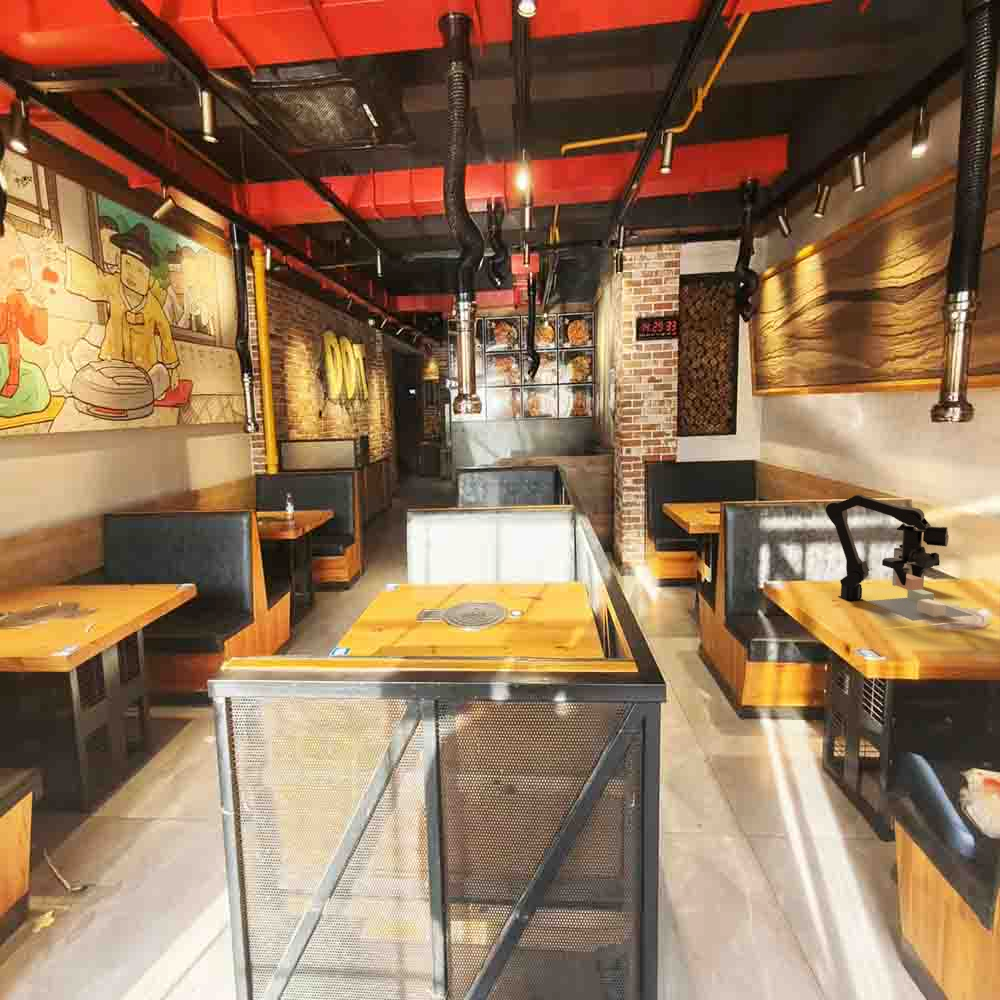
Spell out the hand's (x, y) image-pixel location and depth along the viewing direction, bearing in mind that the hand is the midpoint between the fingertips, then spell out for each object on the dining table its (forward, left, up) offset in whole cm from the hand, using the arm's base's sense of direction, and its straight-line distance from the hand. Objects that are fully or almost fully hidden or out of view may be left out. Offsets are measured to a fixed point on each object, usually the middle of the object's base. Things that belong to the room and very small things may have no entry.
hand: (909, 584), depth 214 cm
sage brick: (+11, +6, -9) cm, 15 cm away
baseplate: (+4, 0, -10) cm, 10 cm away
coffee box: (+23, +25, -10) cm, 35 cm away
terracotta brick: (0, 0, -1) cm, 1 cm away
